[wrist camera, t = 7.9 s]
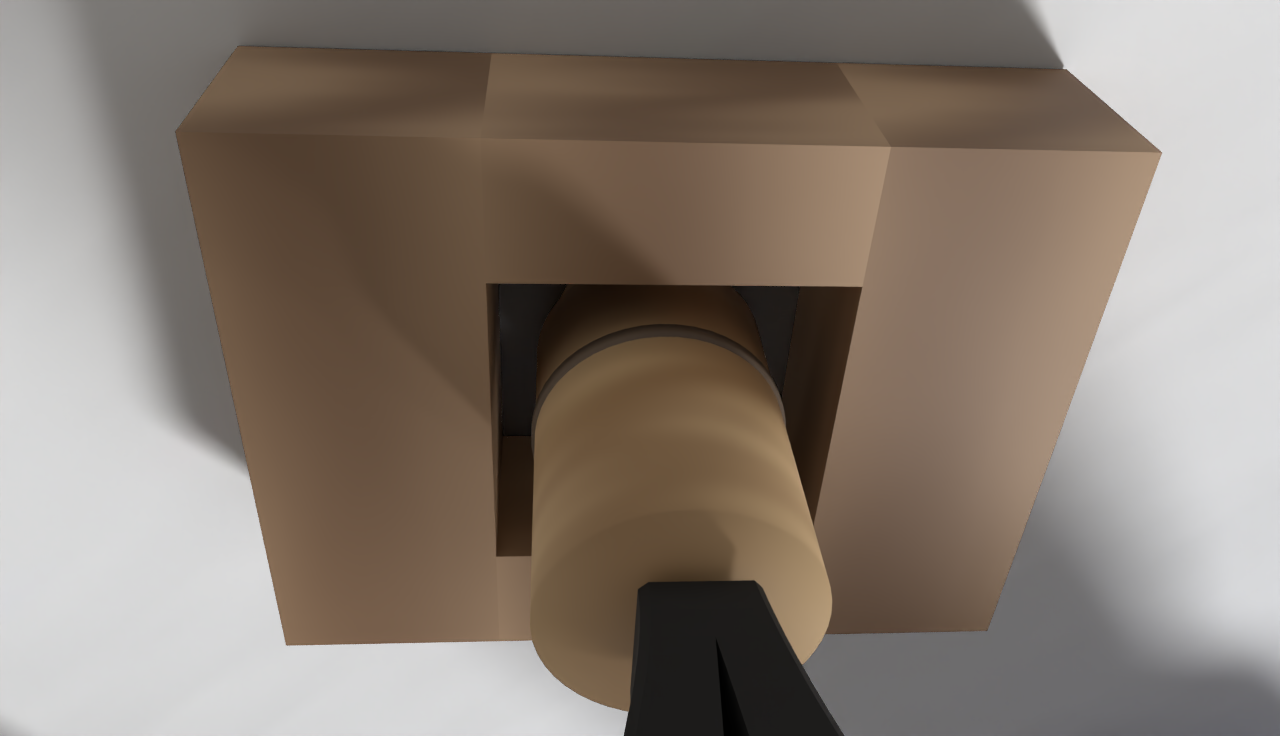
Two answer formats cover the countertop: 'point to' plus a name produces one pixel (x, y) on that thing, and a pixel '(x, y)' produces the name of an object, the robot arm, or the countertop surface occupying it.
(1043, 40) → the countertop surface
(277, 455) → the board
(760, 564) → the peg
